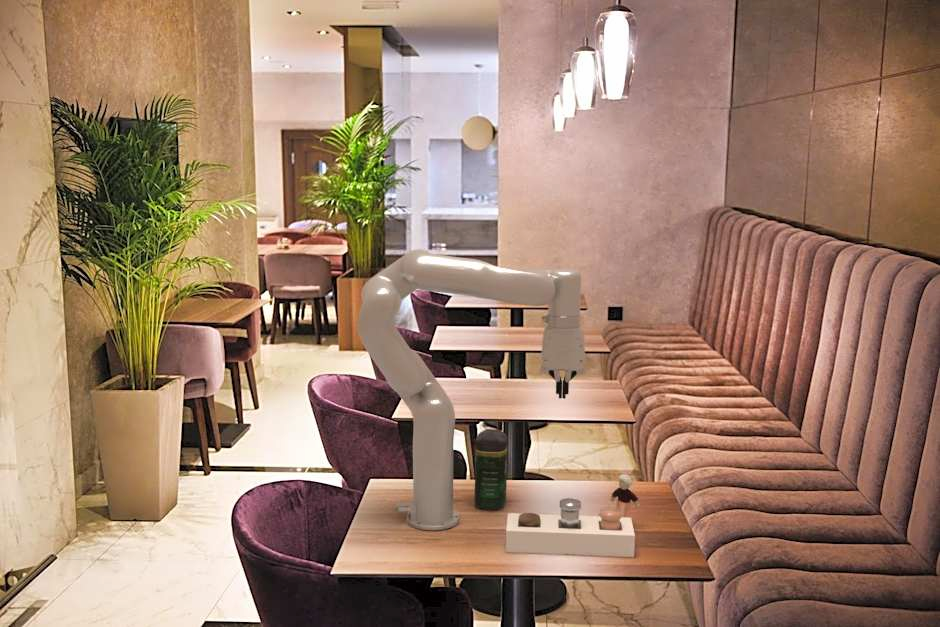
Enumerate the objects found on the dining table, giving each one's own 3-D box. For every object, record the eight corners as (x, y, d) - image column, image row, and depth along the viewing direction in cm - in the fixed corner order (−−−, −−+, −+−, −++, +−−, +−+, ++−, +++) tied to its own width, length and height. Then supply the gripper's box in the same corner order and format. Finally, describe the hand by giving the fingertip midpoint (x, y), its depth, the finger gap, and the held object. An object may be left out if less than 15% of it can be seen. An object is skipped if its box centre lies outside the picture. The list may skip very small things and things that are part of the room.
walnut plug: (518, 546, 215) (518, 520, 214) (518, 537, 219) (519, 512, 218) (539, 546, 214) (539, 521, 213) (539, 538, 219) (540, 513, 218)
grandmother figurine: (605, 525, 227) (606, 474, 225) (610, 520, 230) (612, 469, 228) (636, 532, 224) (638, 480, 221) (641, 526, 227) (643, 475, 225)
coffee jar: (504, 511, 235) (505, 439, 232) (472, 510, 236) (472, 437, 233) (508, 497, 244) (509, 427, 241) (477, 495, 245) (477, 425, 242)
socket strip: (505, 552, 212) (506, 530, 211) (507, 533, 222) (508, 513, 221) (634, 557, 210) (634, 535, 209) (630, 538, 220) (631, 517, 219)
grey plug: (559, 531, 213) (559, 505, 212) (558, 523, 218) (559, 497, 217) (580, 532, 213) (581, 506, 212) (579, 523, 218) (580, 498, 216)
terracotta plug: (599, 541, 213) (600, 515, 212) (598, 532, 218) (599, 507, 216) (621, 541, 213) (622, 516, 212) (619, 533, 217) (620, 508, 216)
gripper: (531, 324, 223) (530, 400, 227) (596, 325, 222) (594, 402, 225) (532, 317, 231) (530, 392, 234) (595, 319, 229) (592, 393, 233)
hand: (562, 396), depth 230 cm, fingers closed
